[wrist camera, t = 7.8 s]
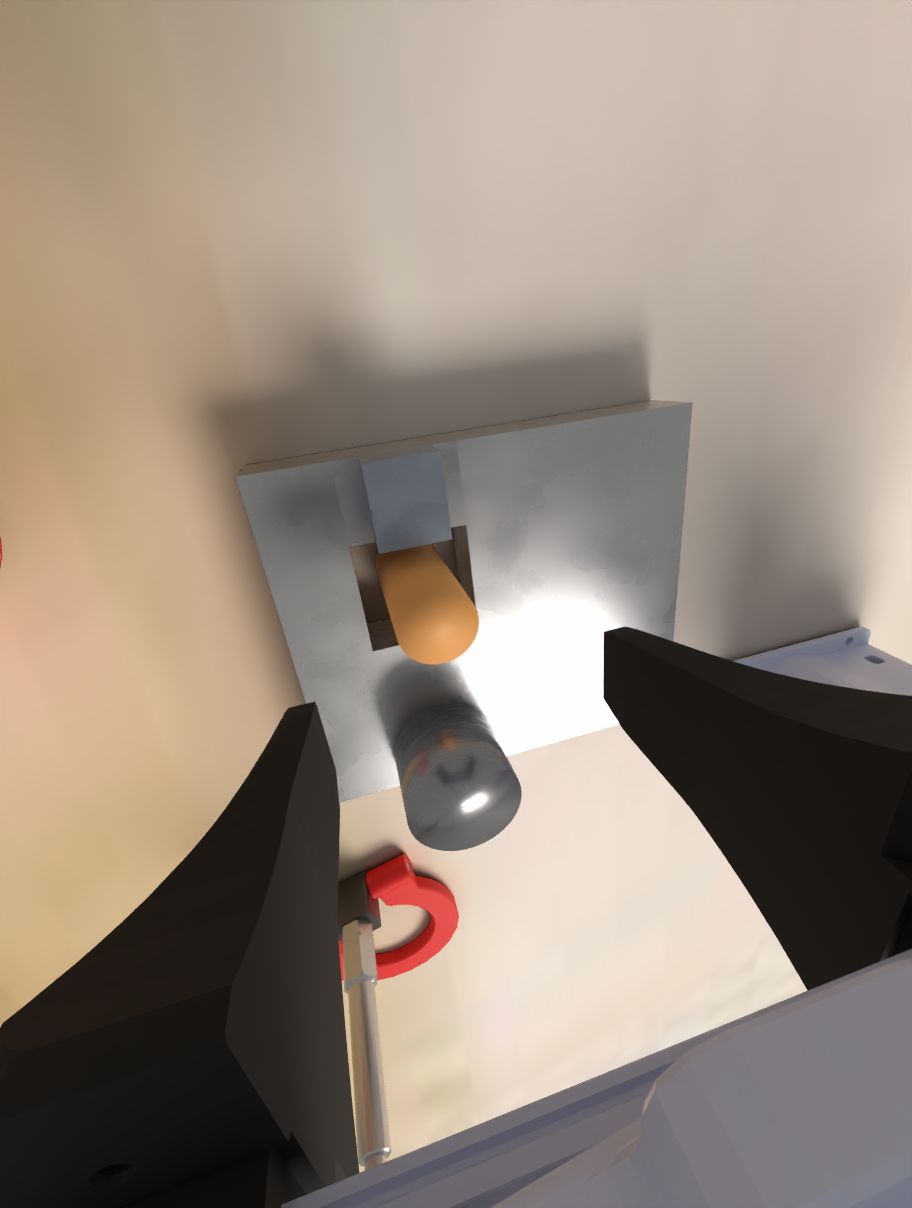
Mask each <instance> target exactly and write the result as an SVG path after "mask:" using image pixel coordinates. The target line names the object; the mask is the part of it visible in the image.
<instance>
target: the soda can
mask: <svg viewBox="0 0 912 1208" xmlns="http://www.w3.org/2000/svg"><path fill="white" fill-rule="evenodd" d="M1 560H2V546H1V538H0V567H1Z"/></svg>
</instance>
